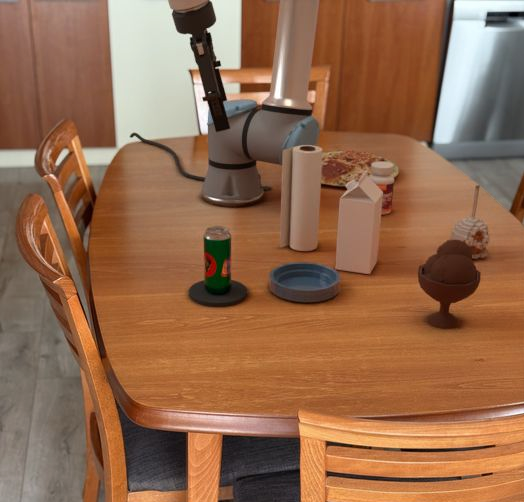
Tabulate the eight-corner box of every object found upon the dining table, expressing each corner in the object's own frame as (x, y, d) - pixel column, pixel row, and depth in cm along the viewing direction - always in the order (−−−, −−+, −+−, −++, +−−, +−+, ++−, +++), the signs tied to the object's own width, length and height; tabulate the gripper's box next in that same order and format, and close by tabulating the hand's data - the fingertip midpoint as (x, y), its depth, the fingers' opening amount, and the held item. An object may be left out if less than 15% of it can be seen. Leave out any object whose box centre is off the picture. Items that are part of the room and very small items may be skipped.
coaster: (177, 292, 162) (177, 289, 162) (221, 277, 169) (221, 273, 168) (214, 312, 155) (214, 308, 155) (259, 295, 162) (259, 291, 161)
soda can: (227, 297, 159) (227, 236, 153) (201, 294, 160) (200, 233, 154) (234, 286, 163) (234, 226, 157) (208, 283, 164) (207, 224, 158)
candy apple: (474, 264, 177) (485, 194, 169) (442, 253, 181) (450, 185, 174) (493, 253, 182) (504, 185, 175) (461, 244, 186) (470, 177, 179)
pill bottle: (373, 216, 201) (377, 169, 195) (360, 208, 206) (364, 162, 200) (396, 213, 203) (400, 166, 197) (383, 205, 208) (386, 159, 202)
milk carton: (377, 262, 177) (385, 172, 168) (369, 275, 171) (377, 182, 162) (343, 257, 179) (349, 168, 170) (334, 270, 173) (340, 178, 164)
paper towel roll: (321, 244, 185) (326, 146, 175) (311, 254, 180) (316, 153, 170) (291, 238, 187) (294, 141, 177) (279, 248, 183) (282, 148, 172)
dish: (255, 287, 165) (255, 274, 163) (304, 269, 173) (304, 256, 171) (304, 310, 156) (304, 296, 155) (353, 290, 164) (354, 277, 163)
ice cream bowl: (405, 309, 157) (413, 232, 150) (464, 307, 158) (475, 231, 151) (419, 336, 148) (429, 255, 141) (482, 334, 149) (495, 254, 142)
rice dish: (368, 201, 214) (370, 180, 211) (274, 176, 226) (275, 156, 223) (414, 173, 234) (417, 154, 232) (326, 153, 247) (328, 134, 244)
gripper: (171, -10, 163) (201, 95, 176) (169, 33, 143) (204, 147, 156) (209, -20, 162) (237, 86, 175) (213, 21, 143) (244, 137, 156)
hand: (221, 115), depth 166 cm, fingers open, 13 cm apart
